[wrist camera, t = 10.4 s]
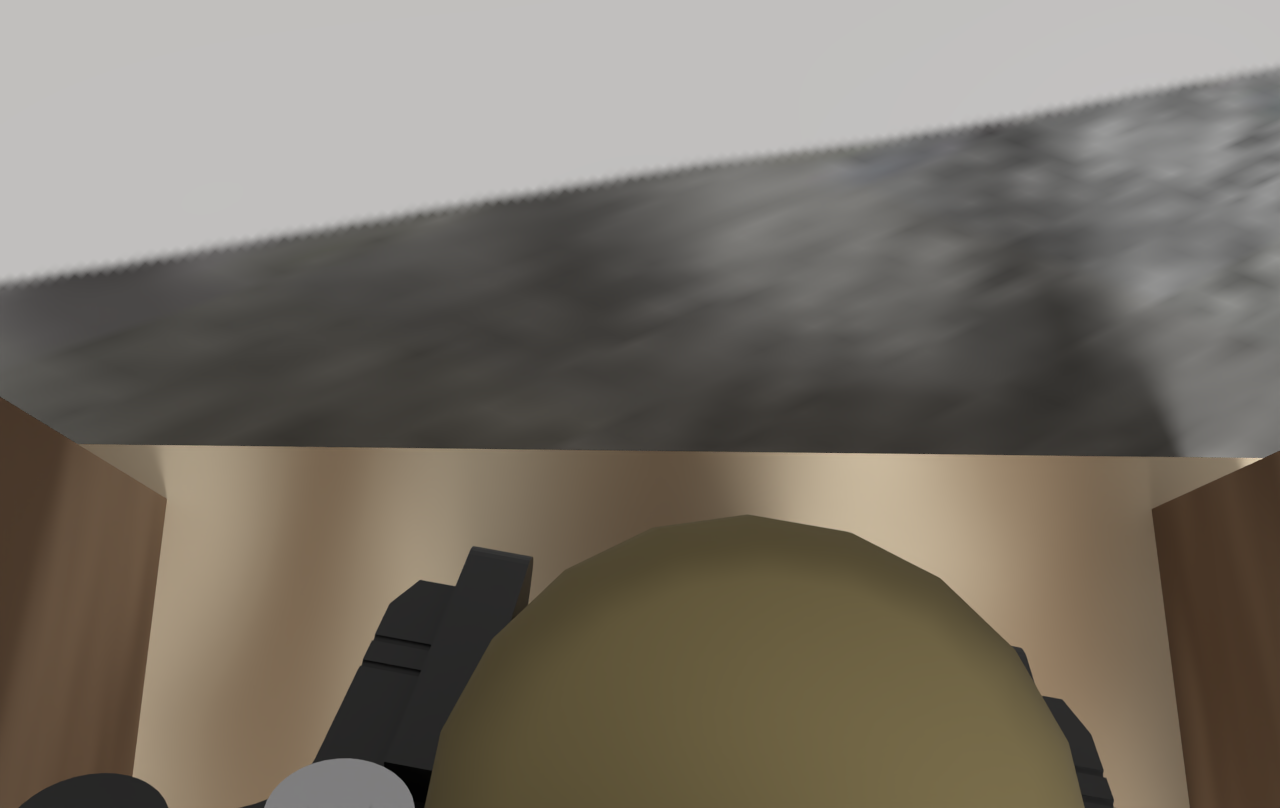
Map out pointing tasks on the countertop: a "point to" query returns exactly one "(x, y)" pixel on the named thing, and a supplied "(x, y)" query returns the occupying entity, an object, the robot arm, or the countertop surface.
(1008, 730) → the cork
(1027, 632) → the wooden slotted rack
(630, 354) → the countertop surface
